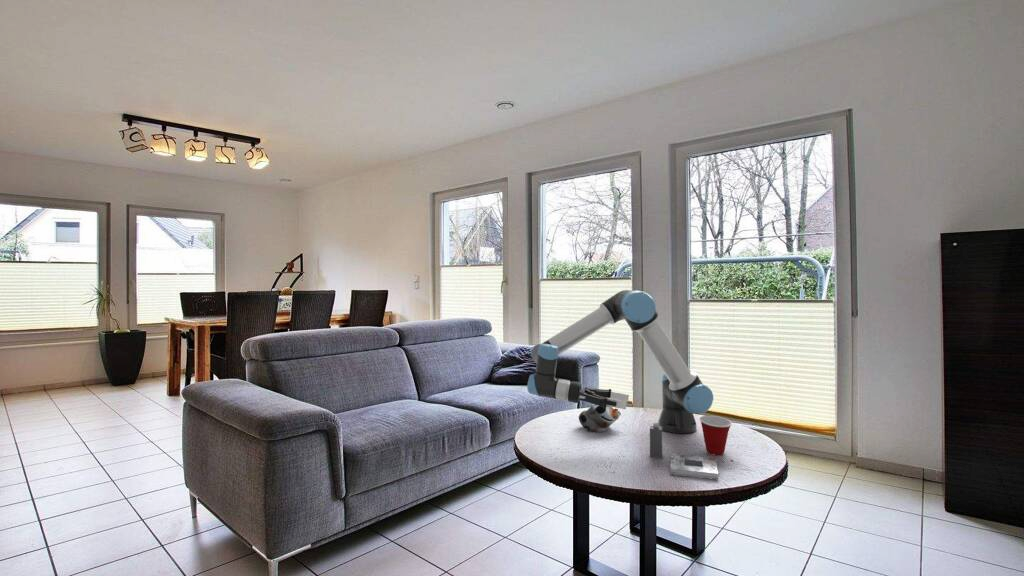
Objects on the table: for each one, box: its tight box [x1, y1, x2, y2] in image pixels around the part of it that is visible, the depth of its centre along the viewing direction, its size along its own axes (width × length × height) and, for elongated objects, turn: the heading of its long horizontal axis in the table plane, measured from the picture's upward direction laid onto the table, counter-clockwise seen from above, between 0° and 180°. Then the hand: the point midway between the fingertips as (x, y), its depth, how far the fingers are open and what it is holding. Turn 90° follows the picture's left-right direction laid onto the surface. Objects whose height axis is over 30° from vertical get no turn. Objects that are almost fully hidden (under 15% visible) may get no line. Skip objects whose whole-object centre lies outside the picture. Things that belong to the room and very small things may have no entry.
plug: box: [649, 422, 663, 459], centre depth 178 cm, size 4×4×12 cm
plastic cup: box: [699, 415, 733, 456], centre depth 180 cm, size 11×11×12 cm
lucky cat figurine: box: [578, 404, 621, 433], centre depth 209 cm, size 15×12×14 cm
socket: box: [670, 452, 719, 480], centre depth 165 cm, size 14×14×3 cm
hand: (627, 401), depth 181 cm, fingers open, 13 cm apart
